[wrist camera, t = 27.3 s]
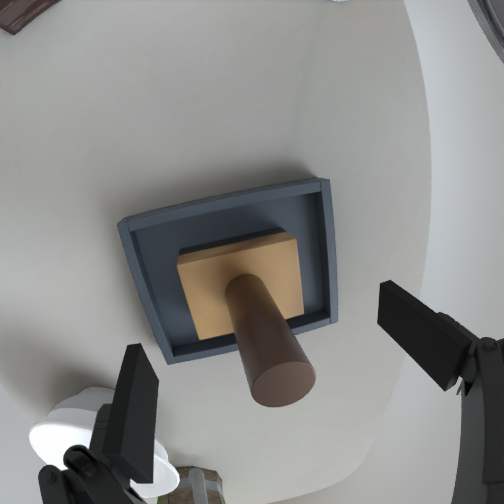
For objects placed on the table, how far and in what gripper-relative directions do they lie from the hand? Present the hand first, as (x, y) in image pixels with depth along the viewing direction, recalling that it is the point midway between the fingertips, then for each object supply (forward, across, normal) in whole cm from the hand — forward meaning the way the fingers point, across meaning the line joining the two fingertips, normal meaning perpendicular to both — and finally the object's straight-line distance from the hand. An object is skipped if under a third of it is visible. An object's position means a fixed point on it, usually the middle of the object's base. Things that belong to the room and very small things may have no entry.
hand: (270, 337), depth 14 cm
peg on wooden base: (+9, 0, 0) cm, 9 cm away
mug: (+9, -14, -32) cm, 36 cm away
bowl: (+9, -18, -14) cm, 25 cm away
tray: (+10, 0, 0) cm, 10 cm away
